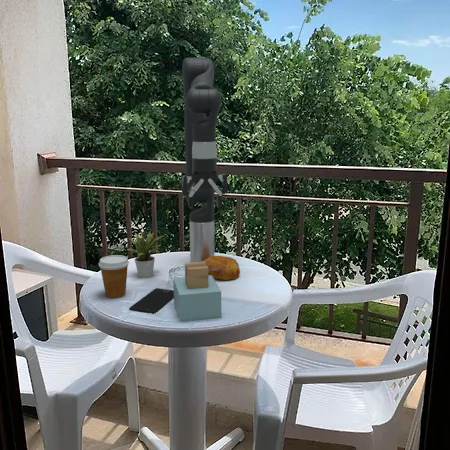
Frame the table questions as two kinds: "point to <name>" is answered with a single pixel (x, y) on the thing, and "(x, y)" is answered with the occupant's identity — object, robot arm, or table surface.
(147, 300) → the cell phone
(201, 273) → the walnut cube
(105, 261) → the disposable coffee cup
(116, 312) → the table surface
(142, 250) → the house plant
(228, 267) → the croissant
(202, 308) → the stand
